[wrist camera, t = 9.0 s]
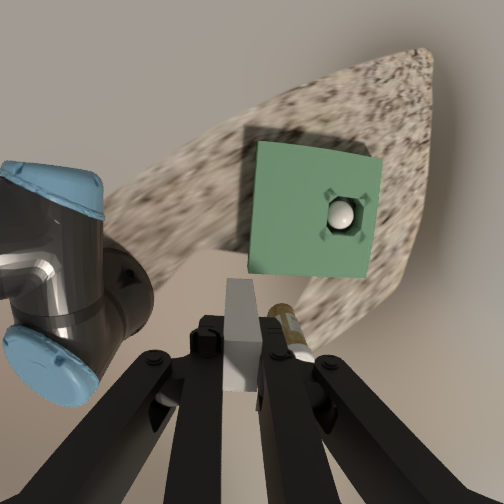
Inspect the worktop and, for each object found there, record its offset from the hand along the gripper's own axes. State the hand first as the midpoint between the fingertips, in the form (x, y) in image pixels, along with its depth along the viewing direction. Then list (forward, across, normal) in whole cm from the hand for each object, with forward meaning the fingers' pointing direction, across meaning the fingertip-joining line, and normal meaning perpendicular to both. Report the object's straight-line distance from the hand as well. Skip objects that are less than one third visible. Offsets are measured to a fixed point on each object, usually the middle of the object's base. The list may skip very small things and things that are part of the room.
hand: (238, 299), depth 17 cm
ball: (+22, -14, -3) cm, 27 cm away
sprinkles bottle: (+25, -8, +14) cm, 29 cm away
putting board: (+24, -11, -3) cm, 27 cm away
